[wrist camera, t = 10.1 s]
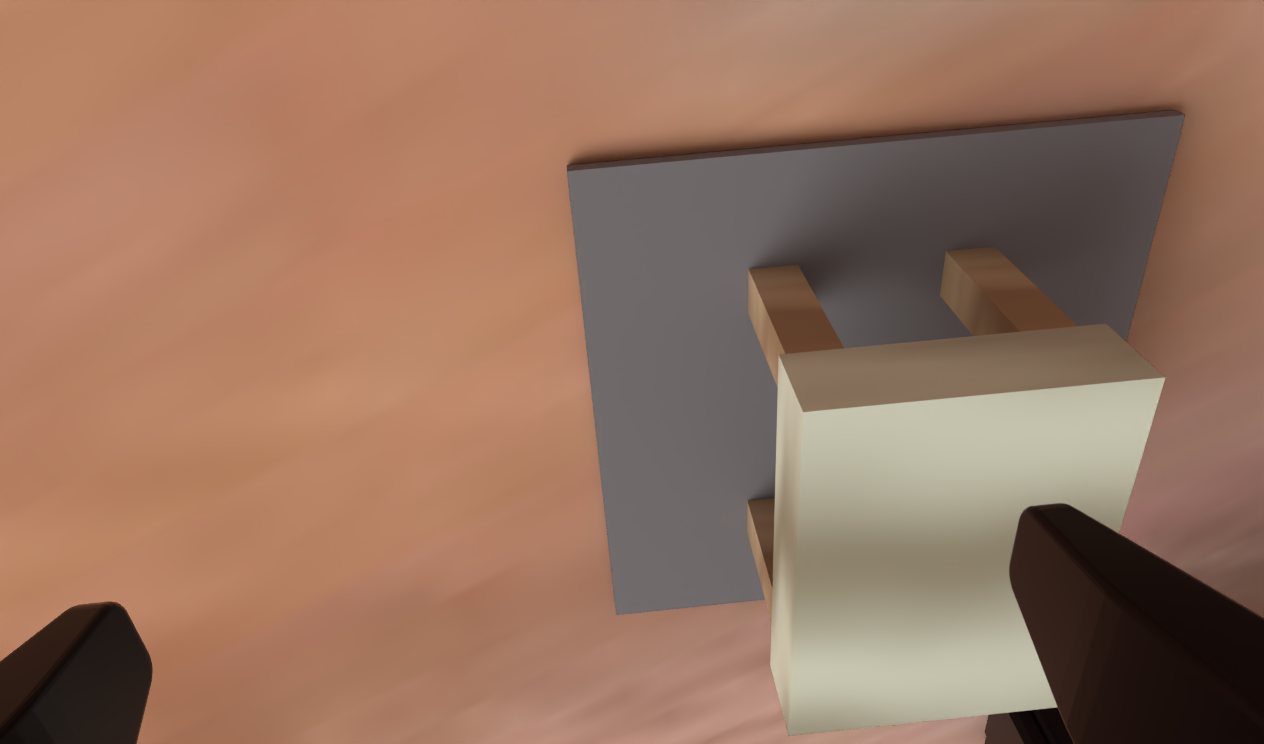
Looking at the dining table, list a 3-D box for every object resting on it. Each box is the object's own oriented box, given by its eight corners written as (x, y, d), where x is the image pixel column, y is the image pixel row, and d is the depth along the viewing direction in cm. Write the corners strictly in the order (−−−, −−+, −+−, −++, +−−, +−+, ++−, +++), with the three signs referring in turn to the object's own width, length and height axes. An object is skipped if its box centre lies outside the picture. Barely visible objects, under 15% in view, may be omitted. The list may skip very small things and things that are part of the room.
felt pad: (1174, 109, 20) (1185, 114, 20) (1060, 558, 28) (1067, 568, 27) (567, 165, 20) (567, 171, 20) (615, 605, 27) (616, 615, 27)
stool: (958, 519, 26) (1067, 706, 20) (738, 541, 26) (788, 735, 20) (1006, 234, 21) (1164, 377, 16) (738, 258, 21) (803, 412, 16)
